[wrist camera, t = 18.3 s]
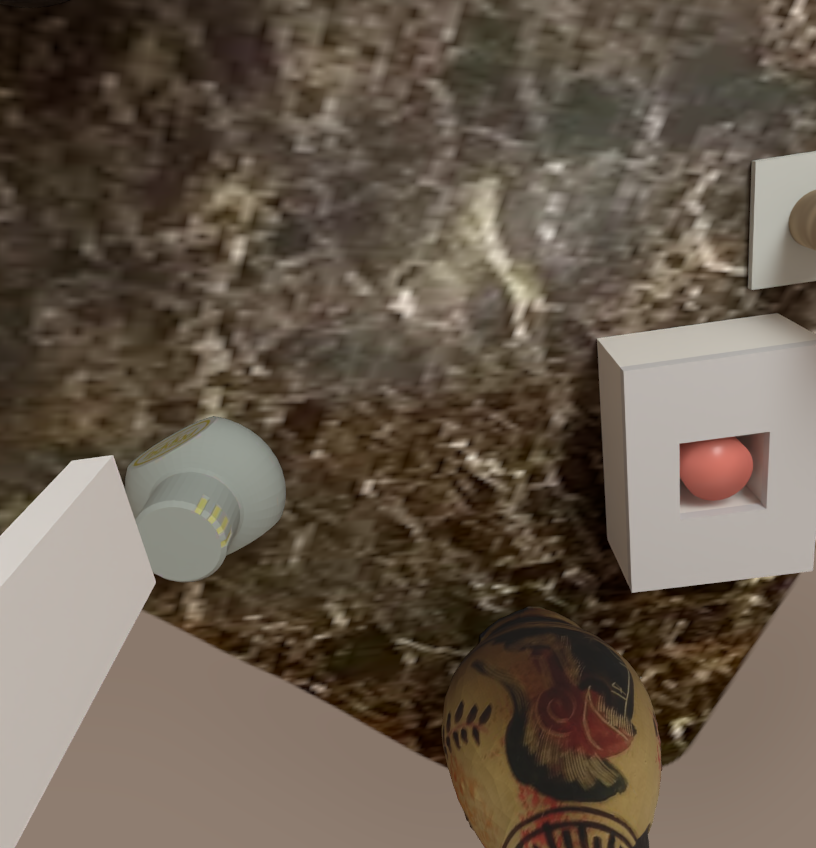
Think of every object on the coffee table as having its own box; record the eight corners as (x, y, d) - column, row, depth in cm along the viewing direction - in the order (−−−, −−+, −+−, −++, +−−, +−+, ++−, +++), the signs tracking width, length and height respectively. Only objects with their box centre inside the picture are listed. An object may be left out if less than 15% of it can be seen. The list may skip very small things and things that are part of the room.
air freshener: (188, 543, 57) (145, 628, 48) (122, 458, 54) (63, 530, 45) (310, 483, 55) (290, 559, 45) (248, 391, 52) (213, 452, 43)
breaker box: (596, 338, 50) (623, 371, 44) (777, 313, 50) (830, 342, 43) (607, 539, 56) (631, 592, 50) (767, 518, 56) (812, 570, 49)
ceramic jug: (408, 697, 63) (408, 1161, 35) (485, 554, 57) (556, 972, 29) (587, 755, 65) (717, 1229, 38) (677, 623, 60) (908, 1067, 32)
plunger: (659, 414, 51) (683, 444, 47) (723, 405, 51) (754, 434, 47) (660, 470, 53) (683, 504, 49) (722, 462, 53) (751, 495, 48)
